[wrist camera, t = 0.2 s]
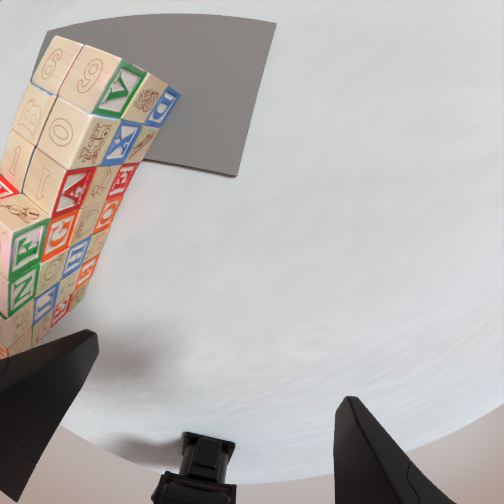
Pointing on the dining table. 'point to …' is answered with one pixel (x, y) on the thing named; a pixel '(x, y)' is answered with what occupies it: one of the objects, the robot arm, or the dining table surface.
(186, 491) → the robot arm
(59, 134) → the stack of blocks
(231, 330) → the dining table surface
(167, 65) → the mat
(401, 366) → the dining table surface
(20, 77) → the dining table surface
